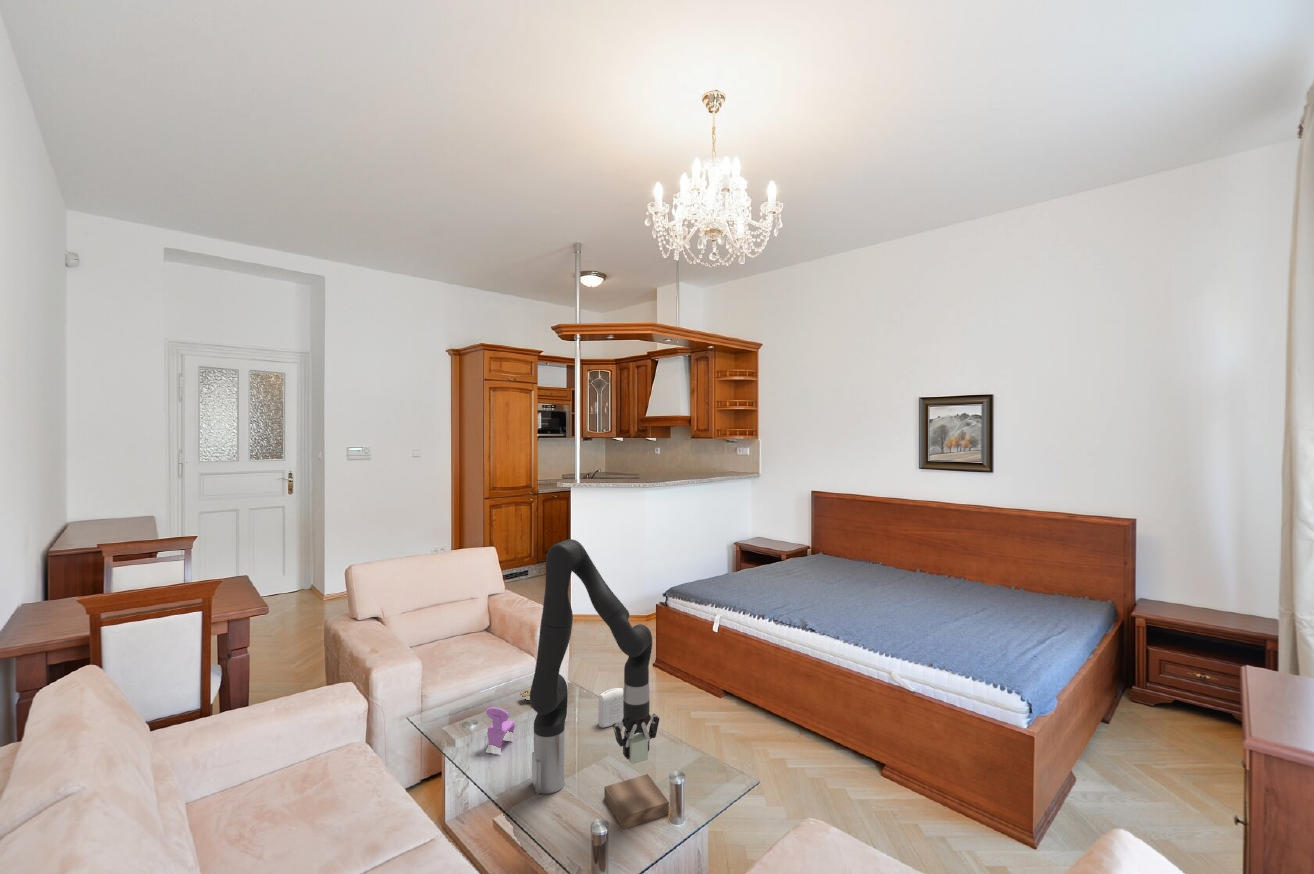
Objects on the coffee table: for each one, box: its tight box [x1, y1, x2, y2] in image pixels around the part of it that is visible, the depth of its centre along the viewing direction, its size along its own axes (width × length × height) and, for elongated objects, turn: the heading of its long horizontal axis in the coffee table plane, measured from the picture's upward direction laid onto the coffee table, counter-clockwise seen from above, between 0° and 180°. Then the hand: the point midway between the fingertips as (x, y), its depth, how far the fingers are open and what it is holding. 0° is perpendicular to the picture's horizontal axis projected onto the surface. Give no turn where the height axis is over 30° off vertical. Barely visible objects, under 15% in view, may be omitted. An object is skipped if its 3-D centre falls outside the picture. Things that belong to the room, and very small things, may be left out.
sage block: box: [627, 733, 649, 765], centre depth 168 cm, size 5×5×6 cm
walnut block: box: [603, 773, 670, 830], centre depth 169 cm, size 14×14×4 cm
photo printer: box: [597, 687, 624, 729], centre depth 214 cm, size 10×4×12 cm, turn 123°
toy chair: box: [485, 706, 516, 749], centre depth 198 cm, size 8×9×15 cm
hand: (636, 754), depth 169 cm, fingers closed on sage block, 5 cm apart
